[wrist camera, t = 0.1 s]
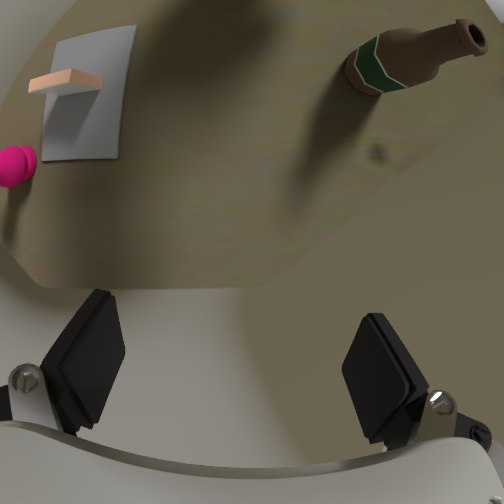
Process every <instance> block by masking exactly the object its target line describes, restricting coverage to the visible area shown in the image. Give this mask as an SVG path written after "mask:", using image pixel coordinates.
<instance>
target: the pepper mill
mask: <svg viewBox="0 0 504 504" xmlns="http://www.w3.org/2000/svg"><path fill="white" fill-rule="evenodd" d="M35 168H36V154H35V152H34V150H33V149H32V147H30V146H22V147H18V146H15V145H13V146H9V147H6V148H5V149H3V150H2V151H0V186H1V187H13V186H16V185H17V184H19V183H20V182H21V180H25V179H28V178H30V177H31V176H32V175H33V173H34V171H35Z"/></svg>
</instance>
